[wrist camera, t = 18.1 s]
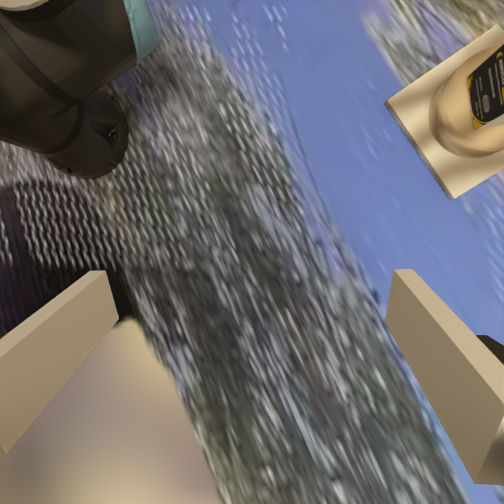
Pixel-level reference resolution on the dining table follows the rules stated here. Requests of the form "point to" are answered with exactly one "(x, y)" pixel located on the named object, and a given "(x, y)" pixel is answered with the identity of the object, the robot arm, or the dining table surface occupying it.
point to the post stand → (451, 120)
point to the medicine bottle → (487, 91)
